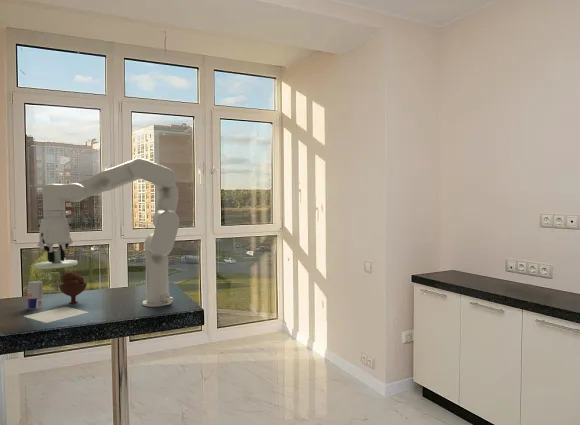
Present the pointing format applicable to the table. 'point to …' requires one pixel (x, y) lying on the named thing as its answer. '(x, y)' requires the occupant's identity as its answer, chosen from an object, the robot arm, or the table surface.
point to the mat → (55, 314)
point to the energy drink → (35, 295)
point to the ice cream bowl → (72, 285)
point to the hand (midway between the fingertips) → (56, 260)
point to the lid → (56, 262)
